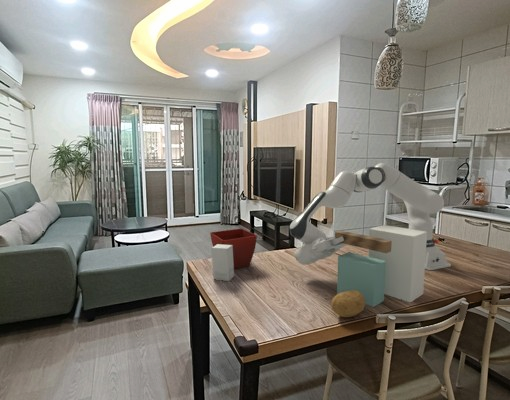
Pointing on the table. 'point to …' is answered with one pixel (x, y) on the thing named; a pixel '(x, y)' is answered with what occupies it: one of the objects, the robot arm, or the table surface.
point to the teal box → (362, 276)
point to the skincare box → (223, 262)
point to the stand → (402, 261)
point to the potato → (348, 303)
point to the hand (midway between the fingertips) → (347, 237)
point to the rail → (365, 241)
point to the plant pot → (237, 244)
